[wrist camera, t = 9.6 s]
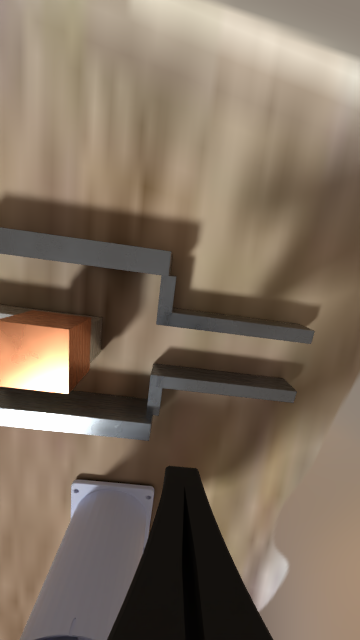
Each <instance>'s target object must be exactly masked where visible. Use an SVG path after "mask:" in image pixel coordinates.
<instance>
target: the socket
mask: <svg viewBox="0 0 360 640" xmlns="http://www.w3.org/2000/svg"><path fill="white" fill-rule="evenodd" d="M0 253H1V254H8V255H16V256H23V257H30V258H38V259H45V260H52V261H60V262H67V263H74V264H82V265H89V266H96V267H104V268H111V269H119V270H126V271H133V272H141V273H148V274H155V275H162V277H161V286H160V295H159V304H158V313H157V322H156V324H157V325H165V326H173V327H181V328H189V329H196V330H204V331H212V332H220V333H228V334H236V335H244V336H252V337H260V338H268V339H276V340H284V341H292V342H300V343H308V344H311V342H312V339H313V335H314V332H315V331H314V330H311V329H309V328H307V327H304V326H302V325H300V324H294V323H286V322H279V321H271V320H263V319H256V318H248V317H240V316H232V315H225V314H217V313H209V312H201V311H194V310H186V309H178V308H172V307H173V300H174V292H175V284H176V276H172V275H170V272H171V263H172V252H171V251H164V250H156V249H149V248H142V247H135V246H128V245H121V244H114V243H107V242H100V241H93V240H86V239H79V238H71V237H64V236H57V235H50V234H43V233H36V232H29V231H22V230H15V229H8V228H1V227H0ZM162 388H166V389H175V390H184V391H193V392H202V393H211V394H220V395H228V396H237V397H246V398H255V399H264V400H273V401H282V402H290V403H294V400H295V396H296V393H297V391H296V390H295V389H294V388H293V387H292V386H291V385H290V384H289V383H288V382H287V381H286V380H285V379H282V378H273V377H265V376H256V375H248V374H239V373H231V372H222V371H214V370H205V369H197V368H188V367H180V366H171V365H163V364H153V368H152V372H151V376H150V385H149V394H148V399H142V398H133V397H124V396H115V395H106V394H97V393H88V392H79V391H71V392H70V393H69V394H65V393H56V392H47V391H38V390H28V389H19V388H10V387H1V386H0V426H10V427H20V428H29V429H39V430H49V431H59V432H69V433H79V434H88V435H98V436H108V437H118V438H128V439H138V440H147V441H149V438H150V432H151V426H152V420H153V415H156V416H159V410H160V402H161V394H162Z"/></svg>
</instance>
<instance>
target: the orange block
mask: <svg viewBox="0 0 360 640" xmlns="http://www.w3.org/2000/svg"><path fill="white" fill-rule="evenodd" d="M101 333H102V318H101V317H93V316H86V315H78V314H70V313H62V312H54V311H46V310H38V309H30V308H22V307H14V306H6V305H0V386H1V387H10V388H19V389H28V390H38V391H47V392H56V393H65V394H69V393H70V392H71V390H72V389H73V388H74V387H75V386H76V385H77V384H78V383H79V381H80V380H81V379H82V378H83V377H84V376H85V375H86V373H87V372H88V371H89V368H90V363H91V362H92V361H93V360H94V359H95V358H96V357H97V356H98V355H99V354H100V352H101Z"/></svg>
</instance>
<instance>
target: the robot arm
mask: <svg viewBox="0 0 360 640" xmlns="http://www.w3.org/2000/svg"><path fill="white" fill-rule="evenodd" d="M153 497H154V488H153V487H152V486H144V485H134V484H123V483H112V482H101V481H90V480H79V479H77V480H74V481H73V483H72V486H71V521H70V523H69V526H68V528H67V530H66V533H65V535H64V537H63V540H62V542H61V544H60V547H59V549H58V551H57V554H56V556H55V558H54V561H53V563H52V565H51V568H50V570H49V572H48V575H47V577H46V579H45V582H44V584H43V586H42V589H41V591H40V593H39V596H38V598H37V600H36V603H35V605H34V607H33V610H32V612H31V614H30V617H29V619H28V621H27V624H26V626H25V628H24V631H23V633H22V635H21V638H20V640H273V638H272V637H271V635H270V633H269V631H268V629H267V627H266V626H265V624H264V622H263V620H262V618H261V616H260V614H259V612H258V611H257V609H256V607H255V605H254V603H253V601H252V599H251V597H250V595H249V593H248V591H247V589H246V587H245V585H244V583H243V581H242V579H241V577H240V575H239V573H238V570H237V568H236V566H235V564H234V562H233V560H232V557H231V555H230V553H229V551H228V549H227V546H226V544H225V542H224V539H223V537H222V535H221V532H220V530H219V527H218V525H217V523H216V520H215V518H214V515H213V513H212V510H211V507H210V505H209V502H208V499H207V496H206V494H205V491H204V488H203V485H202V481H201V478H200V475H199V471H198V470H197V469H196V468H185V467H175V466H168V467H166V470H165V477H164V484H163V491H162V495H161V499H160V502H159V506H158V509H157V512H156V516H155V519H154V522H153V526H152V529H151V531H150V534H149V527H150V520H151V512H152V505H153ZM148 535H149V537H148Z"/></svg>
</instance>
